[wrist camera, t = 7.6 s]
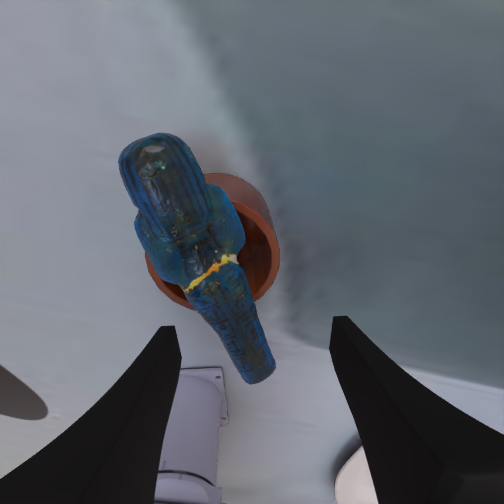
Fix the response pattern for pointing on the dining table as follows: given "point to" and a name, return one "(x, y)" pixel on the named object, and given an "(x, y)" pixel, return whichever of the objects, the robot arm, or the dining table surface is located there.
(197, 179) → the figurine
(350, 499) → the plate
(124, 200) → the dining table surface
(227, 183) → the cup
